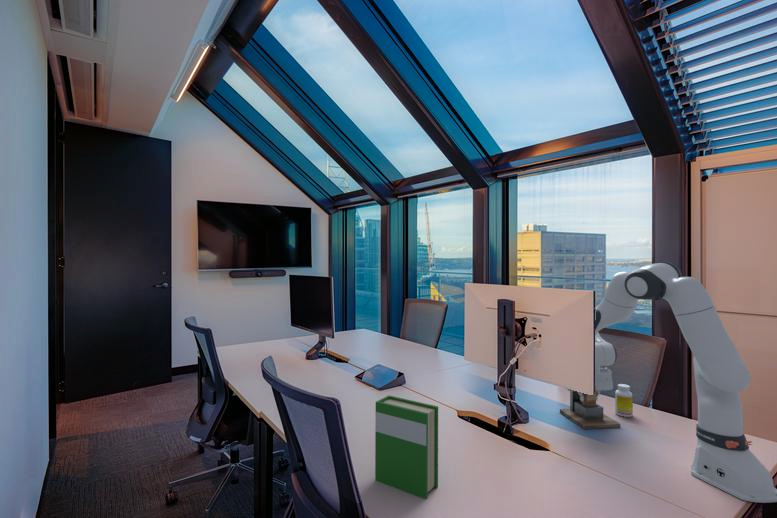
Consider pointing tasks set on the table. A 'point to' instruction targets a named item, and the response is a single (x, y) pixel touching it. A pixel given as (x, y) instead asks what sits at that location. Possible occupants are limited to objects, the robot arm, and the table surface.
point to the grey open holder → (584, 408)
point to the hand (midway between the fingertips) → (588, 400)
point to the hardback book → (406, 445)
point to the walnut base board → (590, 421)
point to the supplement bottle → (623, 401)
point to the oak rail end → (589, 400)
